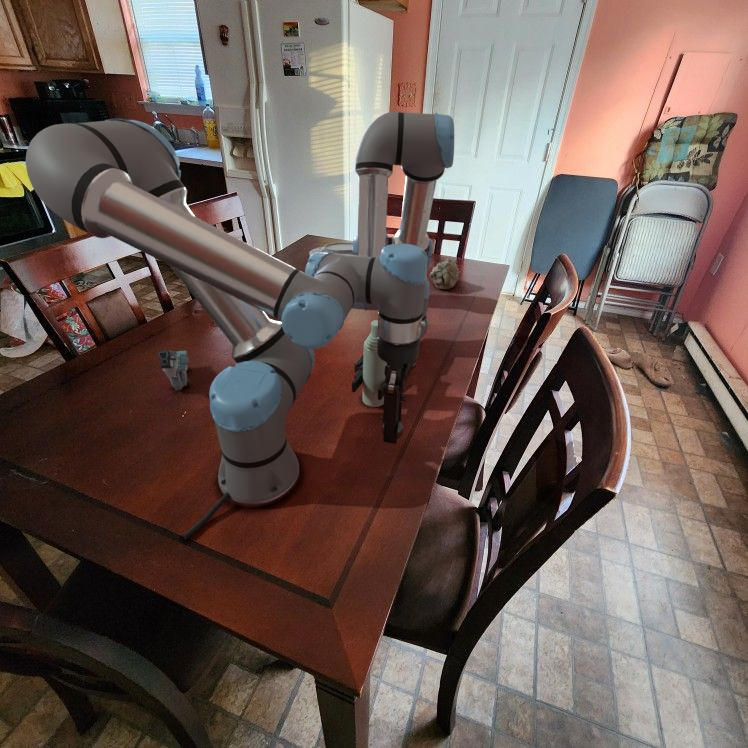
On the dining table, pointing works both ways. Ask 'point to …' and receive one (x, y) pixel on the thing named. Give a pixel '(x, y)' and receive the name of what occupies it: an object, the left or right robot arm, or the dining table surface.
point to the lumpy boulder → (445, 274)
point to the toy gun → (174, 366)
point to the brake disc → (335, 248)
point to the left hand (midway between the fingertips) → (391, 433)
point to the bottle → (372, 369)
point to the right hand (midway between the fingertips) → (366, 391)
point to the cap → (400, 429)
